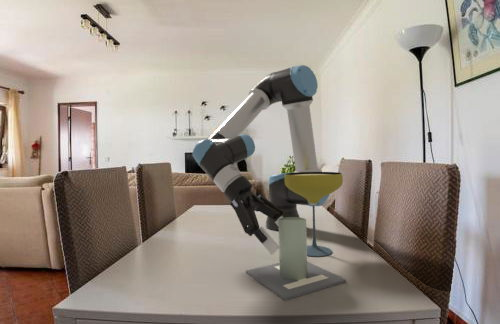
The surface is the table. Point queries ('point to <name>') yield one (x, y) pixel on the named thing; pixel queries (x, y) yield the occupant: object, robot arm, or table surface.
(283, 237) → the green canister
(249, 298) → the table surface
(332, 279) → the letter board
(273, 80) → the robot arm
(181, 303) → the table surface
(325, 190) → the cocktail glass
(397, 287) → the table surface
